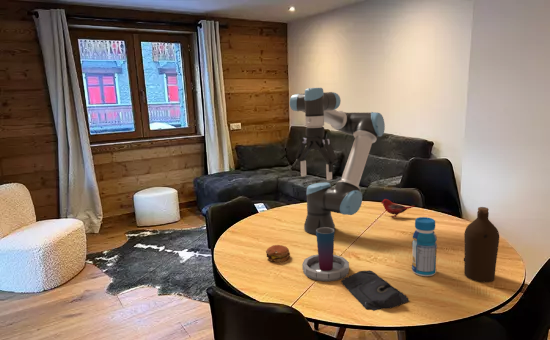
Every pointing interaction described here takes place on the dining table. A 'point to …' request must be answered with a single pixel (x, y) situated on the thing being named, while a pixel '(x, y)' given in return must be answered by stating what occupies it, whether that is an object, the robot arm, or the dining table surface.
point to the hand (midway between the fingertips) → (316, 177)
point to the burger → (278, 253)
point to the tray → (316, 273)
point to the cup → (325, 247)
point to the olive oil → (481, 248)
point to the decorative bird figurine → (394, 207)
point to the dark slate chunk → (373, 291)
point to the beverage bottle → (424, 247)
